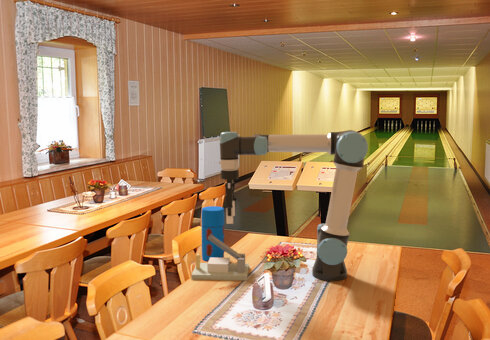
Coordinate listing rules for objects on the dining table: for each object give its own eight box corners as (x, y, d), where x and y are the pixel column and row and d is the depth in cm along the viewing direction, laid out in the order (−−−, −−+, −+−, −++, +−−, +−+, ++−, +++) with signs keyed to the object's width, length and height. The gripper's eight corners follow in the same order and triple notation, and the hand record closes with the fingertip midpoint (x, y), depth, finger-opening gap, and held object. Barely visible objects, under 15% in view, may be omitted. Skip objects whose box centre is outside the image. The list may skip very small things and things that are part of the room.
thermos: (198, 261, 232) (198, 210, 229) (205, 254, 243) (205, 205, 239) (220, 263, 230) (220, 211, 226) (226, 256, 240) (226, 206, 237)
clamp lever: (242, 260, 217) (244, 257, 217) (241, 263, 213) (244, 260, 213) (208, 236, 217) (210, 233, 216) (207, 239, 212) (209, 235, 212)
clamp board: (248, 267, 223) (248, 250, 222) (247, 280, 208) (247, 261, 207) (197, 266, 225) (196, 249, 224) (191, 279, 209) (191, 260, 208)
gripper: (222, 165, 213) (224, 213, 216) (218, 173, 189) (219, 227, 191) (239, 165, 213) (240, 212, 216) (237, 173, 188) (238, 226, 191)
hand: (230, 219), depth 204 cm, fingers open, 13 cm apart
